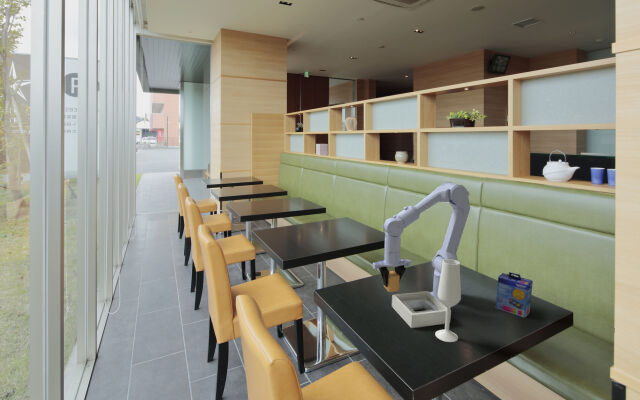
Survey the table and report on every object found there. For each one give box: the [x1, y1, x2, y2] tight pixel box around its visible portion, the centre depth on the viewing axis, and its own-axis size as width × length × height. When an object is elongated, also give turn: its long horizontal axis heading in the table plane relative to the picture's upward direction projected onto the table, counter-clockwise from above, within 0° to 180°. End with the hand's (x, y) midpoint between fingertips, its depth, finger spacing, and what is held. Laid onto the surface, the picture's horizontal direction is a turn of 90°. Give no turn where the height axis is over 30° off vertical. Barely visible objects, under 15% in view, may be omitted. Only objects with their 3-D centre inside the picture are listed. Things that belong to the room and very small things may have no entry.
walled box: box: [391, 290, 452, 329], centre depth 120 cm, size 14×15×4 cm
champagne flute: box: [434, 259, 462, 343], centre depth 105 cm, size 7×7×24 cm
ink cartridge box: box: [495, 271, 534, 319], centre depth 121 cm, size 10×6×14 cm, turn 45°
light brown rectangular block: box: [383, 270, 400, 293], centre depth 130 cm, size 4×5×6 cm
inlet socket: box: [401, 298, 439, 314], centre depth 120 cm, size 10×10×3 cm
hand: (391, 285), depth 131 cm, fingers closed on light brown rectangular block, 4 cm apart
